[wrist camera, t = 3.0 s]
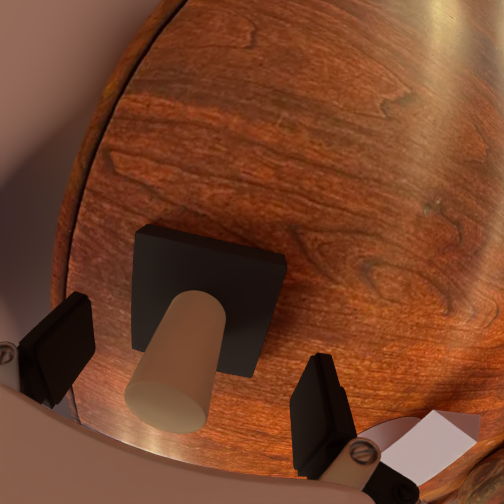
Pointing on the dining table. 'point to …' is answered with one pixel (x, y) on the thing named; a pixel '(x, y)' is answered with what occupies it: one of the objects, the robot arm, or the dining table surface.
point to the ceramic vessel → (485, 482)
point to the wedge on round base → (424, 442)
